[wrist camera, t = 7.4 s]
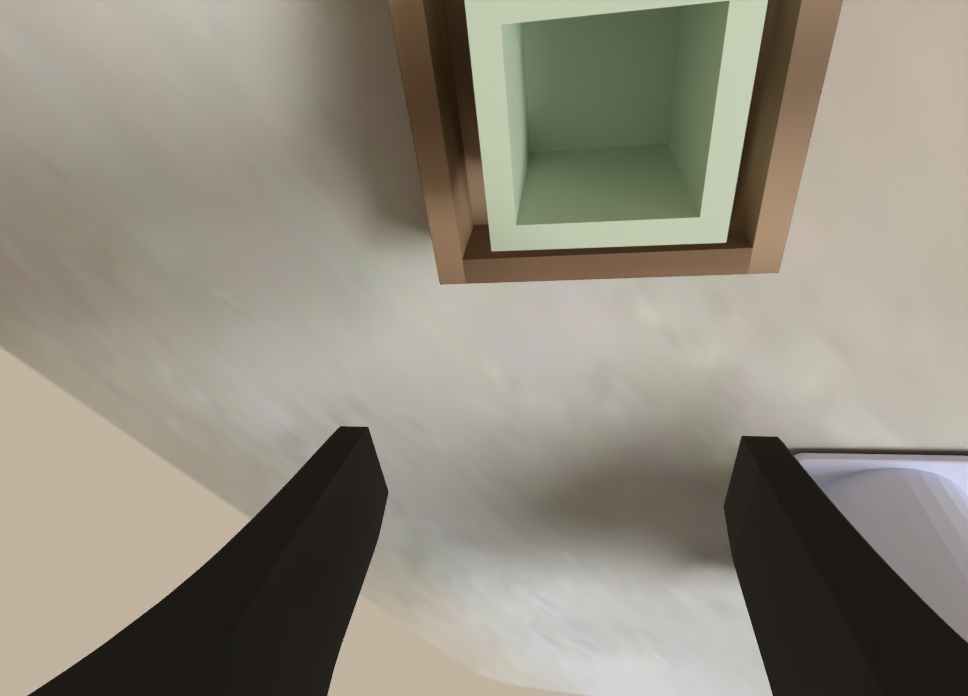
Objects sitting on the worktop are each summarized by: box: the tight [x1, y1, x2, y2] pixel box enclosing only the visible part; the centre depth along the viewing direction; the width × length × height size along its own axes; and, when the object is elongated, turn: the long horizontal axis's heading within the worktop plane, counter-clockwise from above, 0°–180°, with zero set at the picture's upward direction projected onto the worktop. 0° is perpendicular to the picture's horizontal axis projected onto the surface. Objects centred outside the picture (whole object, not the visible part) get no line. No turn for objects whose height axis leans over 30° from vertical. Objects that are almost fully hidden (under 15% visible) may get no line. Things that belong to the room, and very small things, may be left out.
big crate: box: [388, 0, 843, 284], centre depth 14 cm, size 10×10×3 cm
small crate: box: [464, 0, 768, 251], centre depth 13 cm, size 5×5×6 cm
